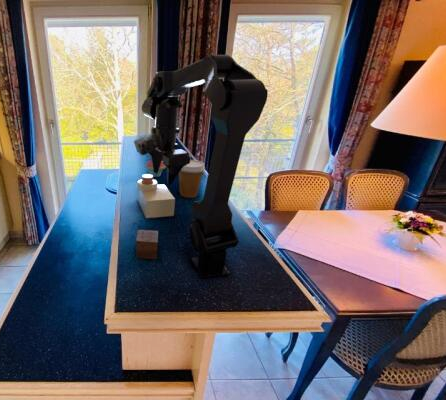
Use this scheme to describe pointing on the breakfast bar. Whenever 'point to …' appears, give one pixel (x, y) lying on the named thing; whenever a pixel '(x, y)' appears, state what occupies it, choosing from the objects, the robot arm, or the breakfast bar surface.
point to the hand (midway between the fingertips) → (162, 178)
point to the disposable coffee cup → (191, 178)
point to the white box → (155, 200)
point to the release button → (147, 179)
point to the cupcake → (150, 169)
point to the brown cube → (146, 244)
